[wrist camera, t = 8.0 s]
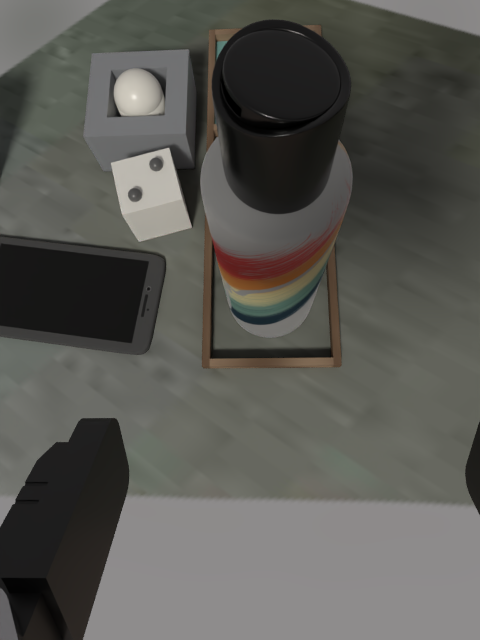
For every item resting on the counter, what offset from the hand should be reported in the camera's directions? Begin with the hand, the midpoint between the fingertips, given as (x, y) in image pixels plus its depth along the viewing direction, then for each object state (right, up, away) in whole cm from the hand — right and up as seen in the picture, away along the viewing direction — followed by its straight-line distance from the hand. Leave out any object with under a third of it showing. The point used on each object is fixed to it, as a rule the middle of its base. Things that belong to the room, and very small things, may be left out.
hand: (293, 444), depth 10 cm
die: (-7, +11, +23) cm, 26 cm away
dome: (-8, +18, +24) cm, 31 cm away
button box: (-8, +18, +25) cm, 31 cm away
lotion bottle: (+1, +4, +21) cm, 21 cm away
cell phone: (-14, +5, +22) cm, 26 cm away
